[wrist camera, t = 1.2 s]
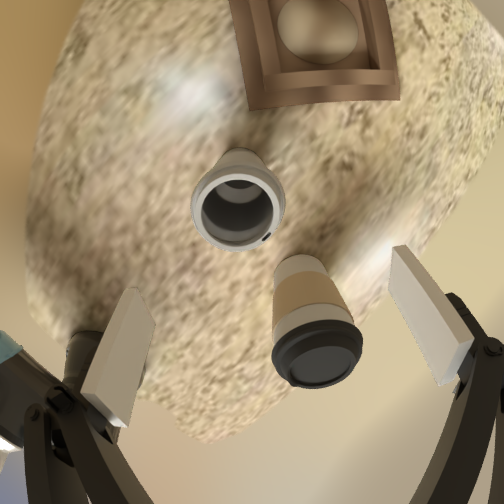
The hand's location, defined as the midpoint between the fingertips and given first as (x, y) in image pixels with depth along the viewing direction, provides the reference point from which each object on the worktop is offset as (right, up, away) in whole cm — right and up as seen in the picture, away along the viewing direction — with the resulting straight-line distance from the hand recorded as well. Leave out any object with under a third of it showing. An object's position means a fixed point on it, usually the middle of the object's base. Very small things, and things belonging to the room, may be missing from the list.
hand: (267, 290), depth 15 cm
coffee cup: (+5, -1, +23) cm, 24 cm away
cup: (-2, +11, +16) cm, 19 cm away
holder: (+6, +24, +8) cm, 26 cm away
